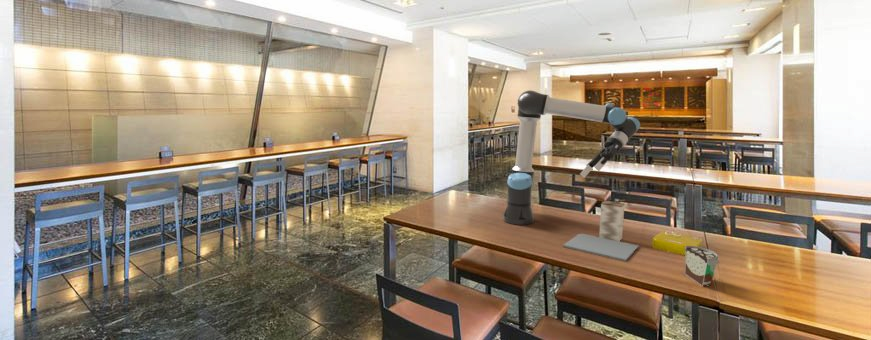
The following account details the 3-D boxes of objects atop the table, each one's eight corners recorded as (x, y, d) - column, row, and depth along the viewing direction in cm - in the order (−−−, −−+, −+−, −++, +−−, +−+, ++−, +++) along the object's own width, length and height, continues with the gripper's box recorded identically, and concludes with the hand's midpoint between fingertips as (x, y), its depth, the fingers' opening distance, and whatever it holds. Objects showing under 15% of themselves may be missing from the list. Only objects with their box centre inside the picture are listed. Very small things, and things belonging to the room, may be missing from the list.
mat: (563, 246, 161) (563, 244, 160) (579, 235, 175) (580, 233, 175) (625, 261, 145) (625, 259, 145) (638, 247, 160) (638, 245, 159)
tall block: (599, 238, 171) (601, 202, 168) (602, 235, 174) (605, 200, 172) (618, 242, 165) (621, 205, 163) (621, 239, 169) (624, 203, 167)
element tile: (650, 248, 159) (651, 237, 158) (661, 239, 170) (662, 229, 169) (693, 258, 149) (694, 246, 148) (702, 248, 159) (704, 237, 158)
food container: (725, 289, 123) (729, 259, 122) (705, 288, 124) (709, 259, 122) (700, 272, 136) (703, 245, 134) (682, 272, 136) (685, 245, 134)
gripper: (637, 139, 174) (609, 171, 168) (607, 155, 198) (582, 183, 192) (625, 128, 174) (597, 159, 169) (596, 145, 198) (571, 173, 193)
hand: (589, 172), depth 181 cm, fingers open, 13 cm apart
